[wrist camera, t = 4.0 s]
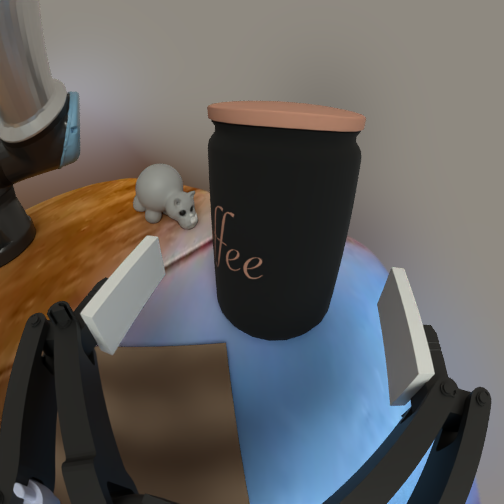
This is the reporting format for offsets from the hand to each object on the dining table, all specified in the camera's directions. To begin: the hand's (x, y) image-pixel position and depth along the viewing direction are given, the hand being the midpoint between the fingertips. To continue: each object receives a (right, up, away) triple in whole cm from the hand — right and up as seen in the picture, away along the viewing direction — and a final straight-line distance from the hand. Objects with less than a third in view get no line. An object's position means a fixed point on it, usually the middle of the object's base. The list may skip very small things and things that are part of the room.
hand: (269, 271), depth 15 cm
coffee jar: (+1, -4, +12) cm, 13 cm away
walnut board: (-11, -13, -1) cm, 17 cm away
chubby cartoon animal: (-13, +6, +26) cm, 30 cm away
